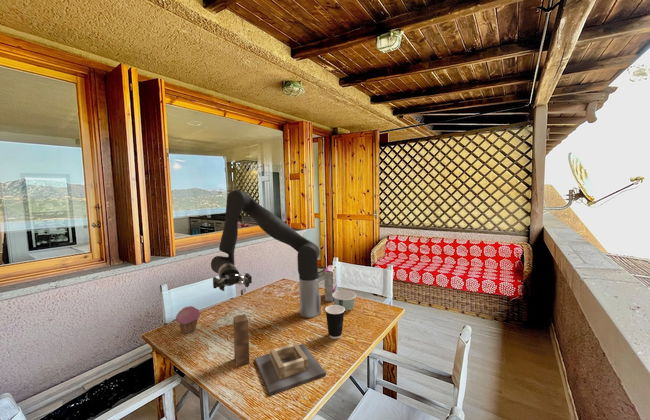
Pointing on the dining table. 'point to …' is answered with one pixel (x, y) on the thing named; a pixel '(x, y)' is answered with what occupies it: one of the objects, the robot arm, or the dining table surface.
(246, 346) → the walnut slat
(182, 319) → the cupcake
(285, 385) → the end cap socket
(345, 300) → the food container
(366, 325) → the dining table surface
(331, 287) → the candy bar box
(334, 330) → the dixie cup
